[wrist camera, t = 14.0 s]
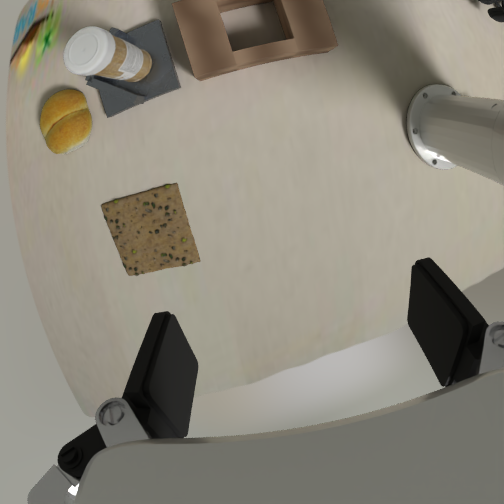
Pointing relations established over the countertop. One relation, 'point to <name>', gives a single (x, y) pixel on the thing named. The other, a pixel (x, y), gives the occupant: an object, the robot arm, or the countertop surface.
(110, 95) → the v block
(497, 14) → the milk frother
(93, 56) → the sprinkles bottle
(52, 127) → the bread roll
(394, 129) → the countertop surface
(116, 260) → the countertop surface
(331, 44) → the wooden block with hole
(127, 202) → the cookie
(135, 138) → the countertop surface
